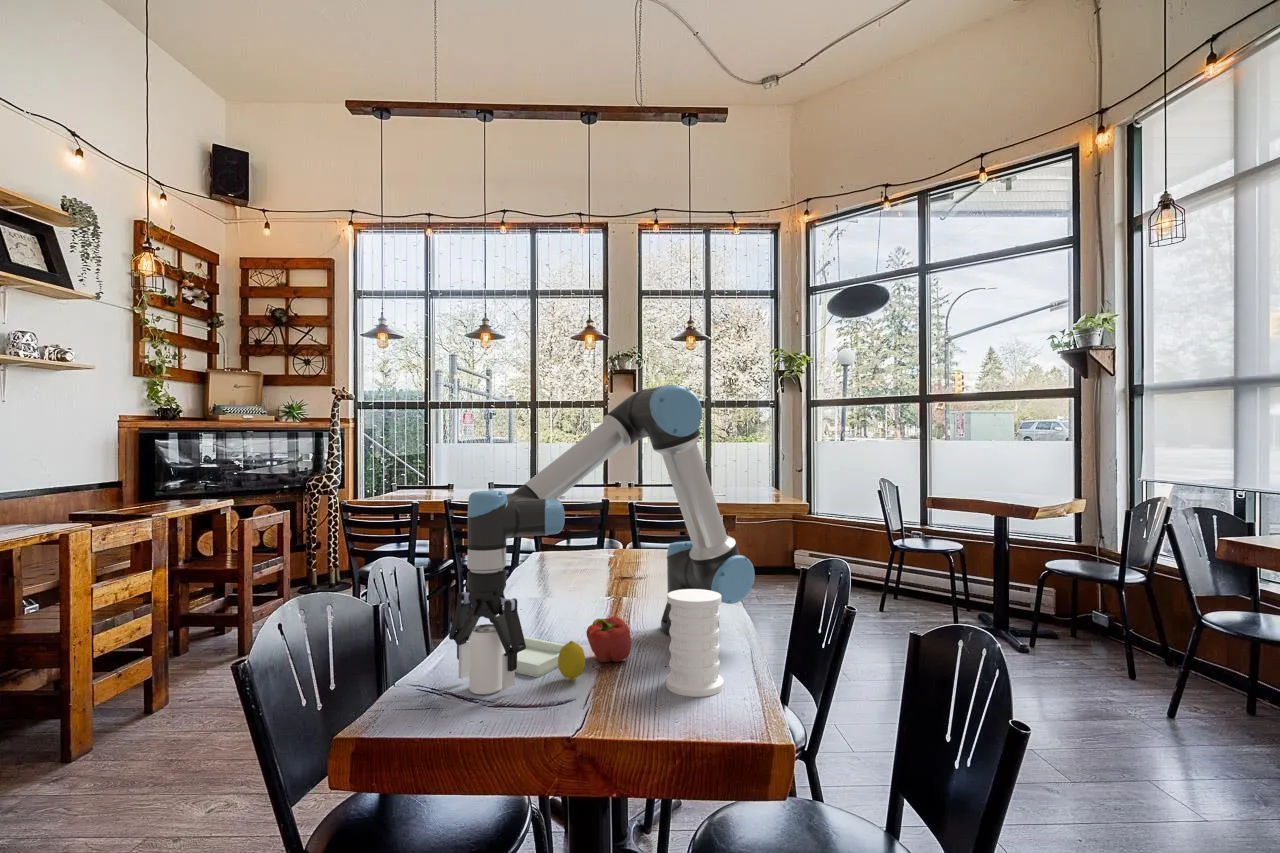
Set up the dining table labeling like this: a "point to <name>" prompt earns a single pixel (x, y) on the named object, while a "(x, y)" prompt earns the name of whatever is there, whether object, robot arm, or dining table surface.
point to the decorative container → (694, 643)
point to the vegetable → (609, 639)
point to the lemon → (571, 660)
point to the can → (485, 660)
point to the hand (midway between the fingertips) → (486, 681)
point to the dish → (537, 657)
